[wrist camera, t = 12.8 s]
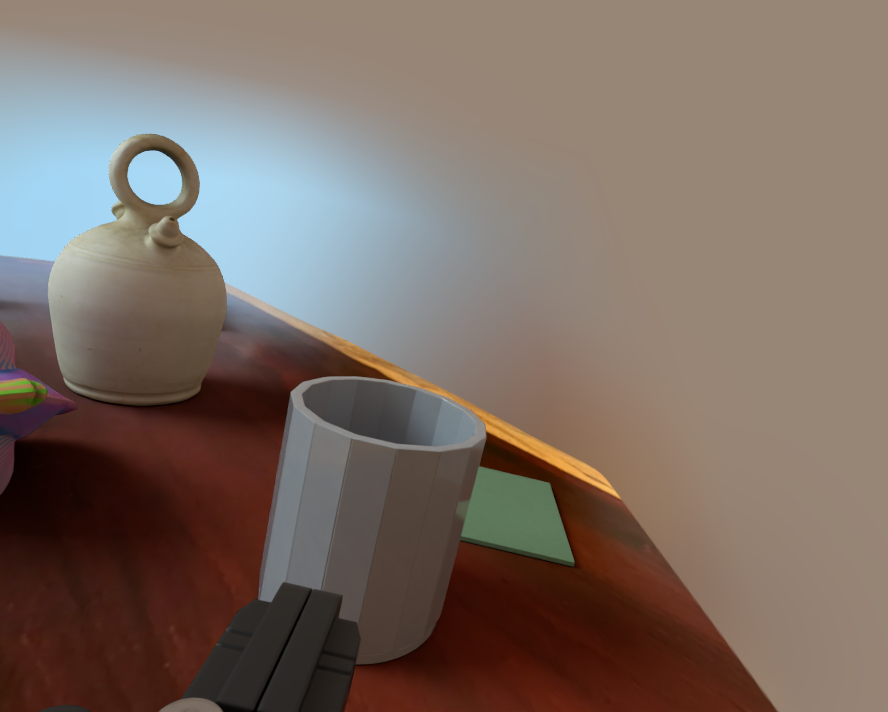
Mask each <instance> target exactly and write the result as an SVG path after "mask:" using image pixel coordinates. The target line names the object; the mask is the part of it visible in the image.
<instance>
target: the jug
mask: <svg viewBox="0 0 888 712" xmlns="http://www.w3.org/2000/svg"><path fill="white" fill-rule="evenodd" d="M150 150H156V151H160V152H162V153H164V154H166V155H167V156H168V157H170V158H171V159H172V160H173V161H174V162H175V164H176V165H177V167H178V168H179V170H180V172H181V176H182V190H181V193H180V195H179V196H178V198H177V199H176V200H174V201H173V202H171V203H169V204H165V205H154V204H150V203H147V202H145V201H143V200H141V199H140V198H139V197H138V196H137V195H136V194H135V193H134V192H133V191H132V189H131V187H130V185H129V182H128V178H127V172H128V167H129V164H130V162H131V161H132V159H133V158H134V157H135V156H136V155H138V154H140V153H142V152H144V151H150ZM109 179H110V183H111V186H112V189H113V191H114V193H115V194H116V196H117V198H118V199H119V200H120V201H118V202H117V203H115V204H114V205H113V206H112V213H113V214H114V215H115V216H116V218H117V221H114V222H111V223H107V224H103V225H100V226H97V227H95V228H92V229H90V230H88V231H86V232H84V233H82V234H81V235H79V236H77V237H75V238H74V239H73V240H71V241H70V242H69V243H68V244H67V245H66V246H65V247H64V249H63V251H62V252H61V253H60V255H59V256H58V258H57V260H56V261H55V263H54V265H53V268H52V270H51V274H50V278H49V283H48V300H49V308H50V315H51V322H52V329H53V336H54V341H55V348H56V353H57V358H58V362H59V366H60V369H61V372H62V374H63V376H64V382H65V384H66V385H67V386H68V387H69V388H70V389H71V390H72V391H74V392H76V393H78V394H81V395H83V396H86V397H89V398H92V399H95V400H100V401H104V402H109V403H119V404H125V405H135V406H149V405H162V404H170V403H177V402H180V401H184V400H187V399H189V398H191V397H193V396H194V395H196V394H197V393H198V392H199V391H200V388H201V383H202V381H203V379H204V377H205V375H206V373H207V371H208V369H209V366H210V363H211V360H212V357H213V354H214V351H215V348H216V345H217V342H218V339H219V335H220V333H221V330H222V327H223V324H224V320H225V316H226V306H227V297H226V288H225V283H224V280H223V276H222V274H221V272H220V269H219V267H218V265H217V264H216V262H215V261H214V259H213V258H212V257H211V256H210V255H209V254H208V253H207V252H206V251H205V250H204V249H203V248H202V247H201V246H199V245H198V244H197V243H196V242H194V241H193V240H192V239H190V238H188V237H186V236H185V235H183V234H182V233H181V231H180V229H179V225H178V221H177V219H178V218H179V217H181V216H182V215H184V214H186V213H187V212H188V211H190V210H191V208H192V207H193V206H194V204H195V202H196V200H197V198H198V194H199V186H200V182H199V176H198V171H197V169H196V166H195V164H194V162H193V161H192V159H191V157H190V156H189V155H188V154H187V152H185V150H184V149H183V148H182V147H181V146H179V145H178V144H177V143H175V142H174V141H172V140H170V139H168V138H166V137H164V136H160V135H157V134H141V135H136V136H133V137H131V138H129V139H127V140H125V141H124V142H122V143H121V144H120V145H119V146H118V147H117V149H116V150H115V151H114V153H113V155H112V157H111V160H110V164H109Z"/></svg>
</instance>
